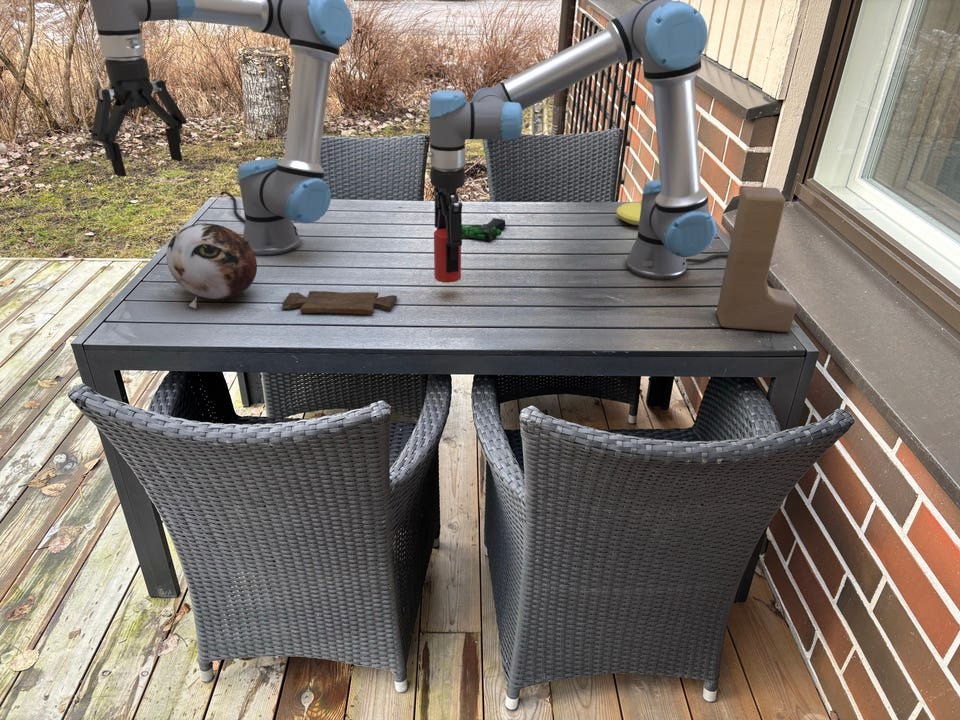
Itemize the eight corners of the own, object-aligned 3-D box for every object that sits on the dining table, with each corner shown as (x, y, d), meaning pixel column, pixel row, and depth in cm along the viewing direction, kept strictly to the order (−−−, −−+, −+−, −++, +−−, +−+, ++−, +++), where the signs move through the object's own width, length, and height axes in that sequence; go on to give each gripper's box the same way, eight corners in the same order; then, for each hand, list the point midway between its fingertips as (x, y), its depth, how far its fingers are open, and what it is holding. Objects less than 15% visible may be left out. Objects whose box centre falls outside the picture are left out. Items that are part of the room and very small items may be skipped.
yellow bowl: (629, 210, 226) (631, 188, 223) (676, 220, 218) (680, 198, 215) (606, 223, 215) (608, 200, 212) (655, 235, 207) (658, 211, 204)
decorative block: (790, 333, 157) (826, 200, 141) (720, 328, 158) (748, 196, 143) (782, 318, 163) (816, 189, 148) (715, 313, 165) (741, 185, 149)
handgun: (511, 219, 210) (493, 234, 198) (511, 228, 211) (492, 244, 199) (461, 212, 215) (440, 226, 203) (461, 221, 217) (440, 236, 204)
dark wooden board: (392, 317, 161) (397, 298, 170) (391, 310, 160) (397, 291, 169) (278, 313, 161) (289, 294, 170) (277, 306, 161) (289, 287, 169)
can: (466, 277, 168) (466, 232, 163) (447, 285, 164) (447, 239, 159) (447, 269, 172) (447, 226, 166) (428, 277, 168) (428, 232, 162)
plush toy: (130, 285, 161) (164, 203, 163) (192, 308, 177) (221, 233, 178) (195, 307, 151) (229, 220, 152) (254, 330, 166) (285, 250, 168)
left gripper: (76, 67, 127) (106, 185, 138) (191, 52, 145) (210, 156, 156) (51, 63, 130) (82, 178, 141) (167, 49, 149) (187, 151, 160)
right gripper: (419, 156, 162) (421, 252, 173) (443, 181, 146) (444, 284, 158) (451, 154, 164) (451, 248, 176) (478, 178, 148) (476, 280, 160)
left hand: (149, 167), depth 149 cm, fingers open, 13 cm apart
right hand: (448, 265), depth 167 cm, fingers closed on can, 6 cm apart
